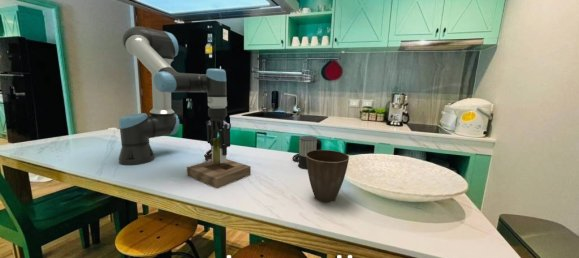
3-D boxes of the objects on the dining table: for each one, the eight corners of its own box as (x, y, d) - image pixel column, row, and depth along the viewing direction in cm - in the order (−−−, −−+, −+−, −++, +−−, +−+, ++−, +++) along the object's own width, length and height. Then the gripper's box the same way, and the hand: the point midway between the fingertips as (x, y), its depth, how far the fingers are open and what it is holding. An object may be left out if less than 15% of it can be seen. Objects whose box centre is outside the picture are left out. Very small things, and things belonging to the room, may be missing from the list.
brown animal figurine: (224, 165, 115) (214, 152, 112) (208, 172, 117) (198, 159, 114) (230, 153, 126) (222, 141, 123) (216, 159, 128) (207, 147, 125)
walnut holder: (187, 175, 99) (186, 167, 99) (221, 165, 114) (221, 157, 113) (217, 188, 88) (216, 178, 87) (250, 174, 103) (250, 166, 102)
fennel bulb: (214, 166, 96) (213, 138, 94) (210, 163, 100) (209, 136, 98) (227, 164, 100) (227, 137, 97) (223, 161, 103) (222, 135, 101)
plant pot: (295, 198, 82) (297, 155, 79) (318, 185, 94) (320, 147, 91) (332, 213, 73) (335, 165, 70) (352, 197, 84) (356, 155, 81)
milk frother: (311, 171, 110) (312, 140, 107) (283, 164, 117) (283, 136, 115) (322, 162, 122) (324, 135, 119) (296, 157, 129) (297, 131, 127)
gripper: (196, 106, 97) (199, 159, 102) (224, 109, 87) (226, 167, 92) (211, 105, 104) (213, 155, 108) (239, 108, 94) (240, 163, 98)
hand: (219, 161), depth 100 cm, fingers closed on fennel bulb, 5 cm apart
